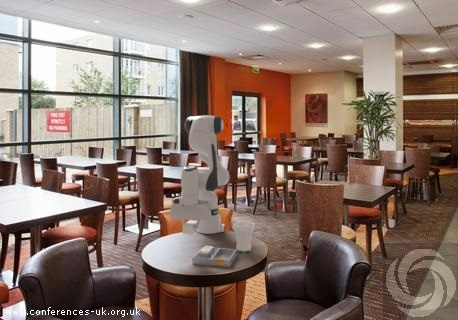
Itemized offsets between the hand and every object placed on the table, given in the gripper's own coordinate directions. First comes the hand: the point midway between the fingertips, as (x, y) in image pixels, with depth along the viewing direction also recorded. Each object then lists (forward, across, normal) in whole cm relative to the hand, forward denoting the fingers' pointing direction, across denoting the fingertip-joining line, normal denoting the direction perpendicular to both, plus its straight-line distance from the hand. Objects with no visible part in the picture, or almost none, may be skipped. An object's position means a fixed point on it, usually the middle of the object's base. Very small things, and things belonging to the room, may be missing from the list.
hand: (190, 227), depth 195 cm
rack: (+15, -12, -1) cm, 19 cm away
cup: (+15, -23, -16) cm, 32 cm away
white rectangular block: (+2, 0, 0) cm, 2 cm away
